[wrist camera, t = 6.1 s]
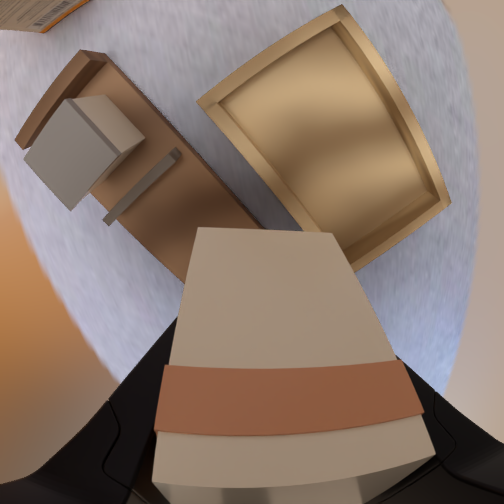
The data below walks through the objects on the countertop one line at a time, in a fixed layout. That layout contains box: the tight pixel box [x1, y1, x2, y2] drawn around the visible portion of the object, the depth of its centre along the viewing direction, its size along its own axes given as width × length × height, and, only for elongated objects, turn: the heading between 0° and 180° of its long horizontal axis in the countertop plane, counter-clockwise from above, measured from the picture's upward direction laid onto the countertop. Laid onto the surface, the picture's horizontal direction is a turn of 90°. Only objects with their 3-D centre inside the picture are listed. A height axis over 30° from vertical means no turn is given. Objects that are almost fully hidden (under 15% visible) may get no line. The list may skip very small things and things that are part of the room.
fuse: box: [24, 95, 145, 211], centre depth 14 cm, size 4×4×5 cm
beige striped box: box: [152, 227, 436, 504], centre depth 7 cm, size 4×4×7 cm
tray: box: [196, 4, 452, 273], centre depth 17 cm, size 15×10×2 cm, turn 38°
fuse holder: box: [15, 50, 265, 284], centre depth 19 cm, size 25×7×4 cm, turn 38°
